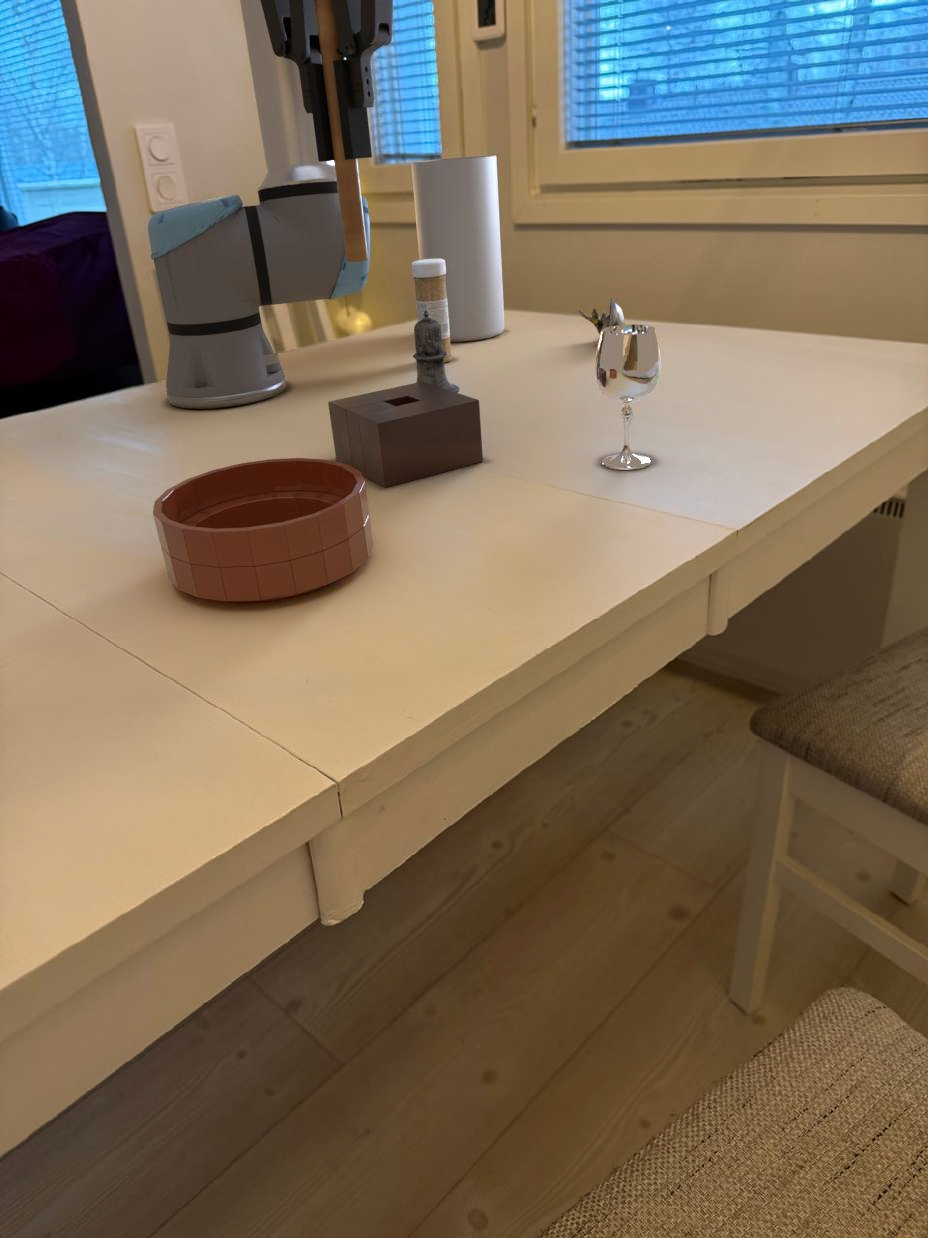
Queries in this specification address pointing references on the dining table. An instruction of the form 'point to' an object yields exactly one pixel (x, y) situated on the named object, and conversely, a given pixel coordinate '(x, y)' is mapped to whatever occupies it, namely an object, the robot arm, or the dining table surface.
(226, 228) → the robot arm
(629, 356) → the wineglass
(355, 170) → the stirring stick
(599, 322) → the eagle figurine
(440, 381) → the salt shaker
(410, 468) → the stick stand
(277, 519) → the bowl
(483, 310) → the cylinder vase
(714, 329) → the dining table surface
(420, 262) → the sprinkles bottle
